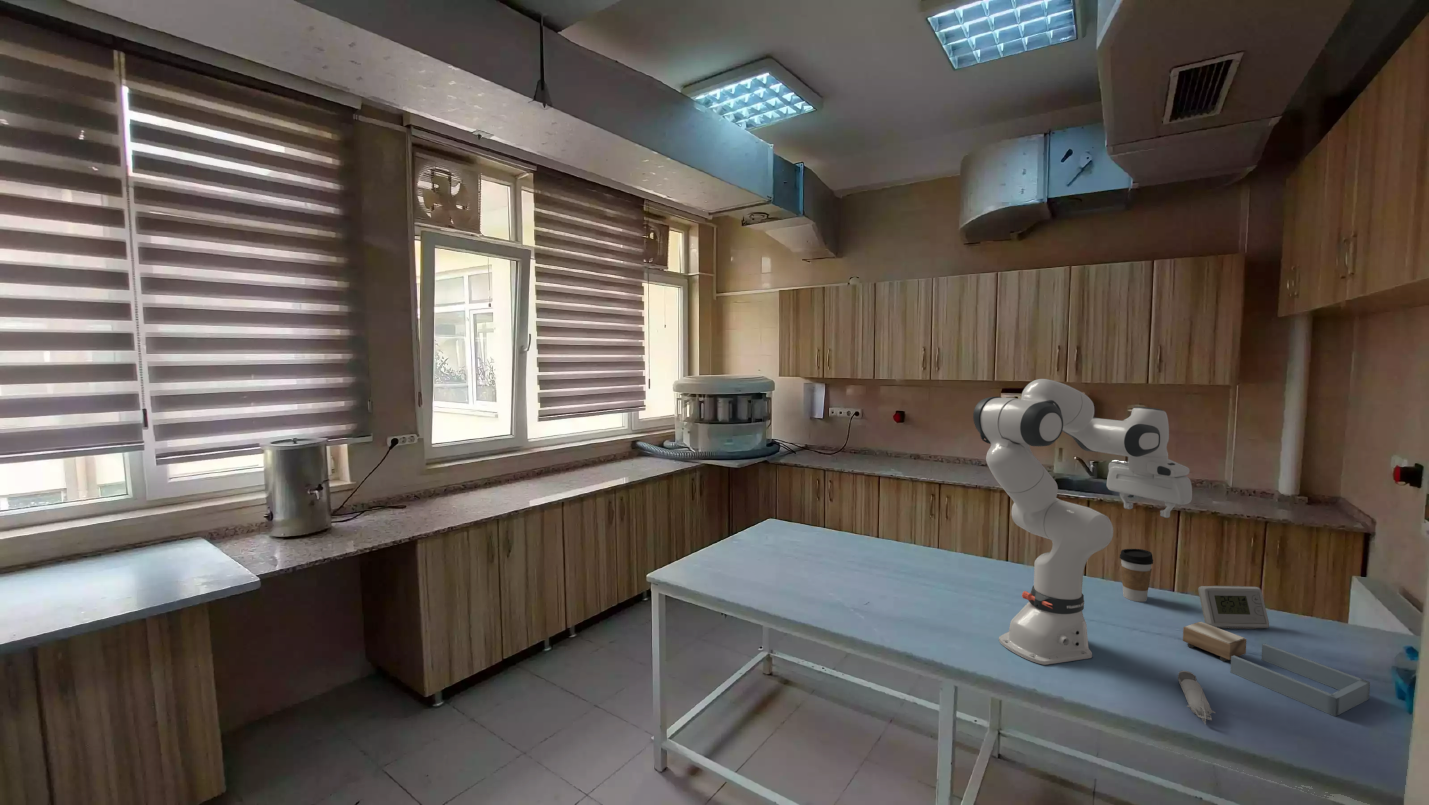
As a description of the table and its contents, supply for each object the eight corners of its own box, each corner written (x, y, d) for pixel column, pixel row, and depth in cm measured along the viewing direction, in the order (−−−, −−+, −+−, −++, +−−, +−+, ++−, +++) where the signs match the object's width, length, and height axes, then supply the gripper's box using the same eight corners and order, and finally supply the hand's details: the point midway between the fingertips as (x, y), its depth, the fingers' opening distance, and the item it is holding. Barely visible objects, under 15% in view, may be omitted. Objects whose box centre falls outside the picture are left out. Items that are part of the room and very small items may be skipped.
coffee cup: (1157, 604, 169) (1159, 557, 168) (1126, 602, 171) (1128, 555, 170) (1142, 592, 177) (1144, 547, 176) (1113, 591, 179) (1114, 546, 178)
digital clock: (1205, 628, 154) (1206, 591, 153) (1188, 613, 163) (1190, 579, 162) (1278, 635, 149) (1280, 598, 148) (1257, 620, 158) (1259, 584, 157)
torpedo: (1171, 679, 132) (1173, 653, 131) (1197, 685, 129) (1198, 658, 129) (1190, 724, 116) (1192, 695, 116) (1220, 731, 114) (1222, 701, 113)
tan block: (1229, 664, 137) (1230, 644, 136) (1182, 645, 146) (1183, 626, 146) (1245, 658, 139) (1246, 638, 139) (1198, 639, 149) (1199, 620, 148)
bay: (1335, 716, 117) (1336, 698, 116) (1230, 672, 134) (1231, 656, 133) (1369, 699, 122) (1370, 682, 122) (1264, 658, 139) (1264, 643, 138)
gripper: (1102, 459, 163) (1101, 505, 164) (1182, 472, 144) (1180, 524, 145) (1116, 457, 165) (1115, 502, 166) (1196, 469, 146) (1194, 520, 147)
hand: (1146, 512), depth 156 cm, fingers open, 8 cm apart
